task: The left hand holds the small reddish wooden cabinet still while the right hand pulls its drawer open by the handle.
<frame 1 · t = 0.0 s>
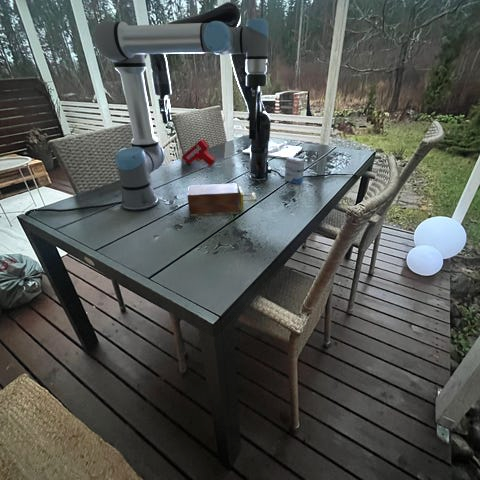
left hand: (255, 135, 110), 28 cm above the table, tool pointing down, fingers open, 13 cm apart
right hand: (167, 121, 130), 29 cm above the table, tool pointing down, fingers open, 8 cm apart
drawer: (226, 198, 114), point 5 cm above the table, slide at 0.8 cm
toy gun: (199, 164, 169), on the table
cabinet: (214, 209, 116), on the table
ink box: (293, 181, 143), on the table
relief map: (273, 151, 194), on the table
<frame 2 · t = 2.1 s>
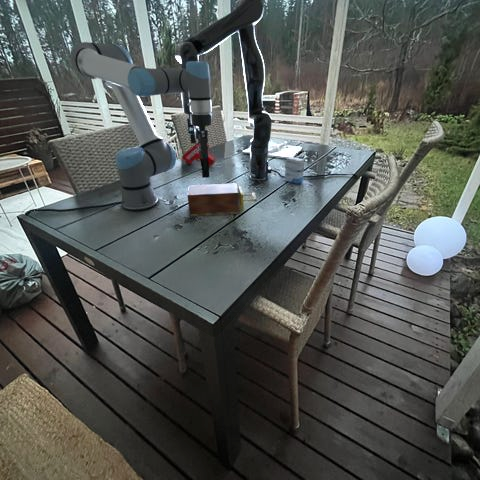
left hand: (205, 171, 108), 16 cm above the table, tool pointing down, fingers open, 13 cm apart
right hand: (195, 140, 123), 23 cm above the table, tool pointing down, fingers open, 8 cm apart
nothing on the table moved.
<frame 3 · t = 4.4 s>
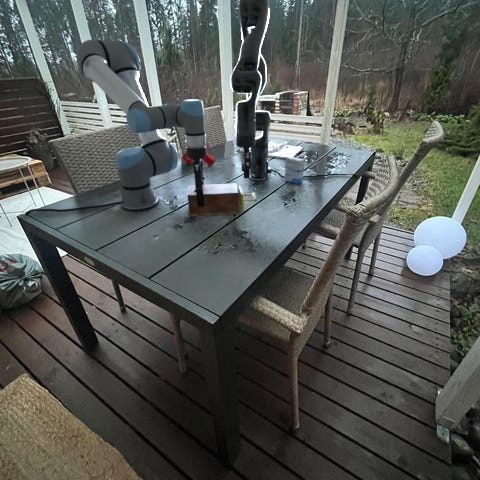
left hand: (201, 200, 113), 4 cm above the table, tool pointing down, fingers closed on cabinet, 10 cm apart
right hand: (245, 174, 111), 14 cm above the table, tool pointing down, fingers open, 8 cm apart
cabinet: (214, 209, 116), on the table, touching left hand
everything else where it was.
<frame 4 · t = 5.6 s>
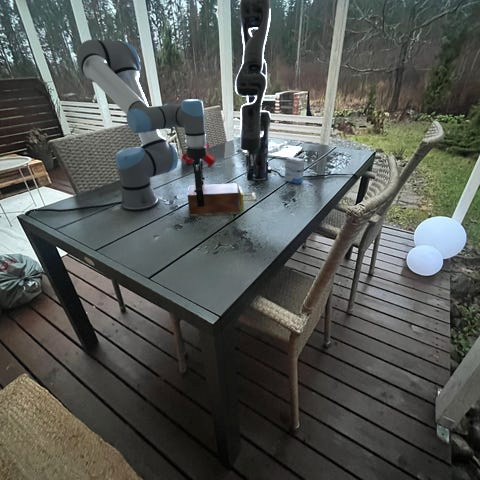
left hand: (201, 200, 113), 4 cm above the table, tool pointing down, fingers closed on cabinet, 10 cm apart
right hand: (249, 180, 111), 12 cm above the table, tool pointing down, fingers closed
cabinet: (214, 209, 116), on the table, touching left hand
everything else where it was.
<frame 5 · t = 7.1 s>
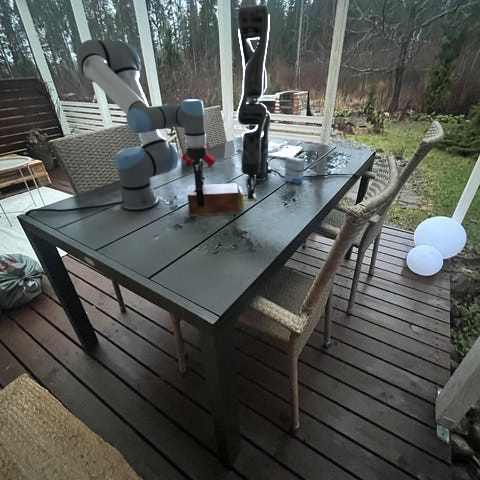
left hand: (201, 200, 113), 4 cm above the table, tool pointing down, fingers closed on cabinet, 10 cm apart
right hand: (250, 200, 116), 3 cm above the table, tool pointing down, fingers closed
drawer: (226, 198, 114), point 5 cm above the table, slide at 0.8 cm, touching right hand
cabinet: (214, 209, 116), on the table, touching left hand
everything else where it was.
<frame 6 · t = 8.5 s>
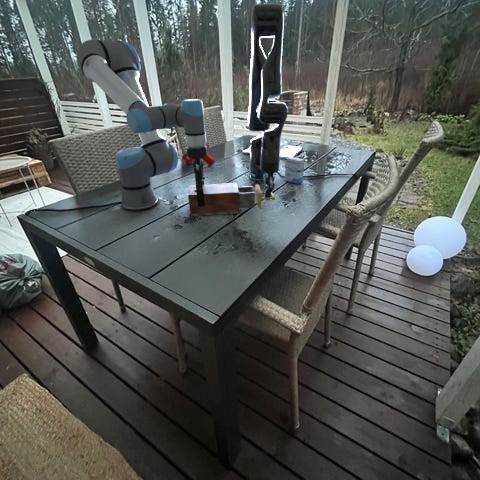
left hand: (201, 200, 113), 4 cm above the table, tool pointing down, fingers closed on cabinet, 10 cm apart
right hand: (267, 199, 116), 3 cm above the table, tool pointing down, fingers closed
drawer: (244, 197, 114), point 5 cm above the table, slide at 8.1 cm, touching right hand
cabinet: (214, 209, 116), on the table, touching left hand
everything else where it was.
when the left hand's fingers open (5 cm above the table, at t = 10.0 s): cabinet stays where it is, on the table.
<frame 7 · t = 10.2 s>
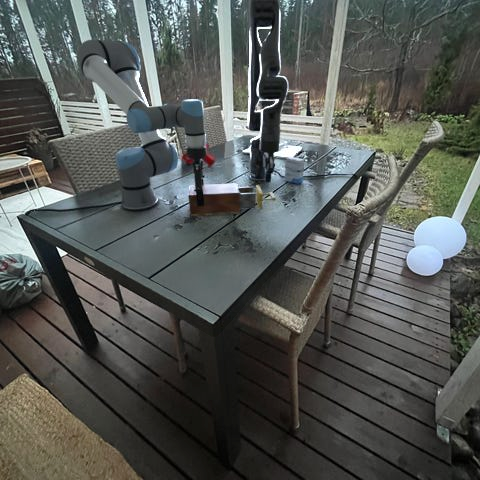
left hand: (201, 199, 113), 5 cm above the table, tool pointing down, fingers open, 12 cm apart
right hand: (267, 181, 112), 11 cm above the table, tool pointing down, fingers closed
drawer: (245, 197, 115), point 5 cm above the table, slide at 8.3 cm
cabinet: (215, 209, 116), on the table
everything else where it was.
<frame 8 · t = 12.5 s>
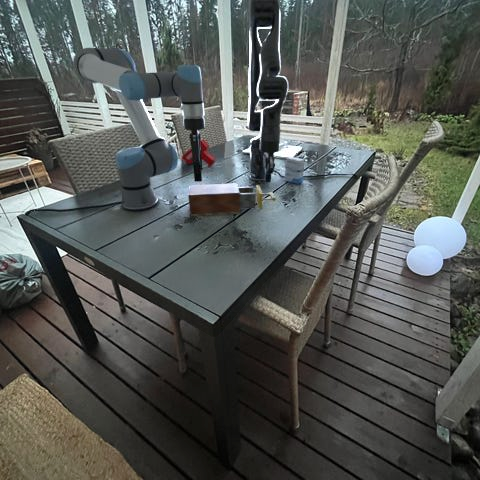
left hand: (198, 175, 107), 15 cm above the table, tool pointing down, fingers open, 13 cm apart
right hand: (267, 181, 112), 11 cm above the table, tool pointing down, fingers closed
nothing on the table moved.
at the end: drawer slide at 8.3 cm; cabinet tilted 0°; cabinet never tilted more than 2° during the clip; cabinet moved 0.4 cm from its start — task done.
